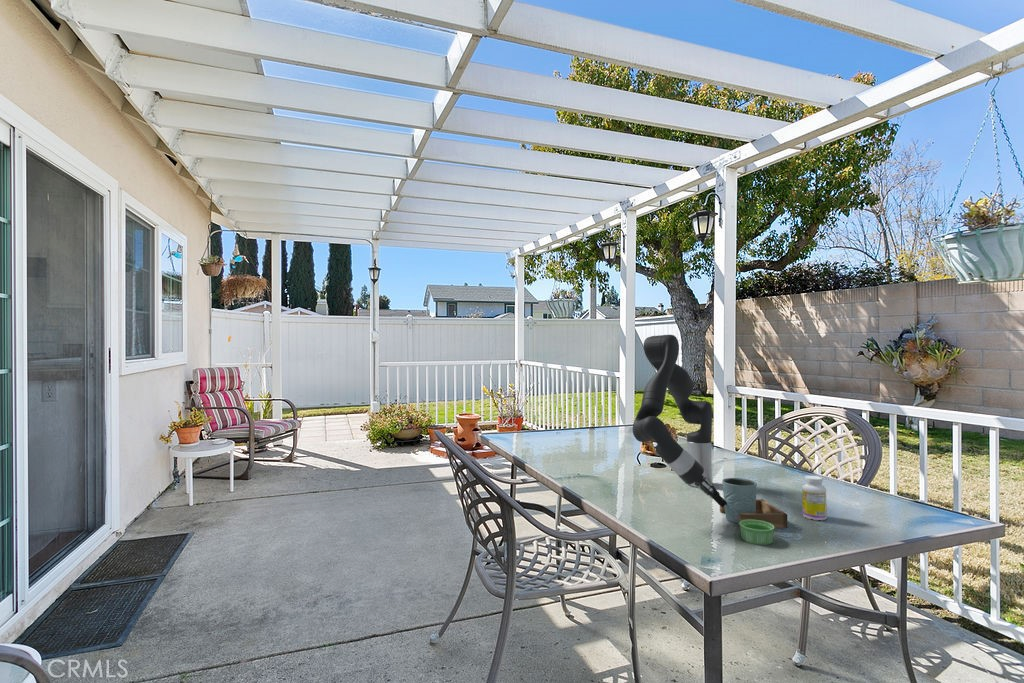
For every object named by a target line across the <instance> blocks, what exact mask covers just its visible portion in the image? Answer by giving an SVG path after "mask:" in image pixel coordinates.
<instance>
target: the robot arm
mask: <svg viewBox="0 0 1024 683" xmlns="http://www.w3.org/2000/svg"><path fill="white" fill-rule="evenodd" d="M643 352H644V354H645V357H646V359H647V361H648V362H649V363H650V365H652V367H653V368H654V369H655V371H656V372H655V374H654V375H653V376H652V377H651V378H650V380H648V381H647V383H646V384H645V387H644V390H643V394H642V400H641V404H640V408H639V409H638V411H637V414H636V416H635V418H634V421H633V424H632V434H633V437H634V438H635V440H637V441H638V442H639V443H647V442H648V443H649V442H650V441H655V443H656V446H655V448H654V450H655V452H656V454H657V455H658V456H659V457H660V458H661V459H662V460H663V461H664V462H665V463H666V465H667V466H668V467H669V468H670V469H671V470H672V471H673V472H674V473H675V475H677V477H679V479H681V480H682V481H683V482H684V483H685V484H686V485H688V486H691V487H693V488H694V487H695V488H698V489H699V490H701V491H702V493H704V494H706V496H708V497H709V498H711V499H712V500H713V501H714V502H715V503H716V504H718V506H719V507H720V506H721V507H724V506H725V505H726V504H727V502H726V501H725V500H724V497H722V496H721V493H720V492H719V491H718V489H716V487H715V486H714V485H713V464H712V462H713V453H712V451H713V450H712V435H713V428H712V427H713V426H712V425H713V406H712V404H711V403H710V401H705V400H704V401H703V400H691V399H689V398H690V397H691V396H692V393H693V391H694V387H695V386H694V385H695V384H694V382H693V380H692V378H691V376H690V374H689V372H688V371H687V370H686V369H685V368H683V367H682V366H680V365H679V364H677V362H678V358H679V355H680V354H679V353H680V343H679V340H678V337H676V336H675V335H674V334H662V335H661V334H660V335H651V336H648V337H646V338H645V339H644V342H643ZM667 391H668V392H669V393H670V394H671V397H673V399H674V402H675V403H676V405H677V408H678V410H679V412H680V415H681V417H682V419H683V420H684V422H685V423H688V424H692V425H700V428H699V429H698V430H695V431H691V432H688V433H687V434H686V450H685V449H684V448H683V447H682V446H681V444H679V443H678V442H677V441H676V440H675V439H674V438H673V435H672V434H671V432H670V431H669V429H668V427H667V425H666V424H665V423H664V422H663V421H662V419H660V418H659V416H660V415H661V414H662V413H663V410H664V405H665V400H666V394H667Z"/></svg>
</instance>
